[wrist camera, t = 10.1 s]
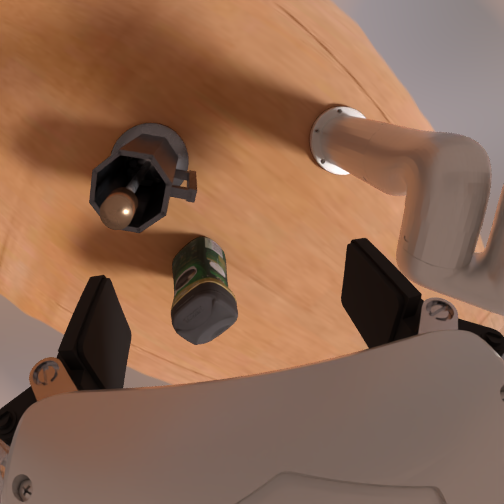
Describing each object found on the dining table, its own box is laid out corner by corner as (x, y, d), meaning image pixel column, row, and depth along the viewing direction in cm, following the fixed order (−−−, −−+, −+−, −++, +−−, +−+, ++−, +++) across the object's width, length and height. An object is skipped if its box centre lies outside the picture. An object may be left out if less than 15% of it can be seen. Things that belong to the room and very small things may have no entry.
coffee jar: (196, 286, 58) (201, 357, 42) (165, 262, 54) (159, 331, 38) (232, 255, 56) (250, 321, 40) (202, 227, 52) (209, 289, 36)
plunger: (174, 145, 43) (160, 182, 24) (165, 188, 46) (148, 254, 27) (130, 138, 41) (83, 169, 22) (123, 181, 44) (78, 242, 25)
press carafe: (204, 132, 45) (210, 148, 30) (186, 206, 50) (185, 255, 35) (119, 117, 40) (83, 127, 26) (106, 193, 46) (73, 236, 31)
